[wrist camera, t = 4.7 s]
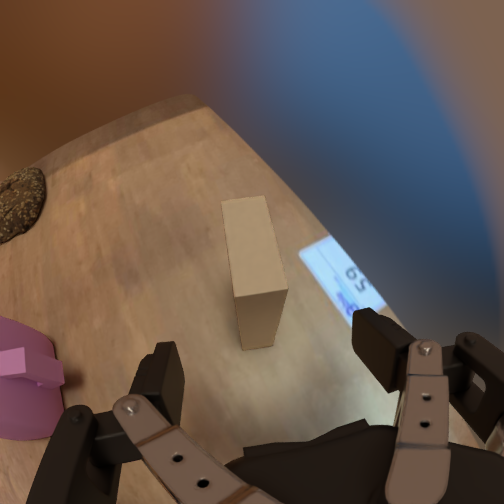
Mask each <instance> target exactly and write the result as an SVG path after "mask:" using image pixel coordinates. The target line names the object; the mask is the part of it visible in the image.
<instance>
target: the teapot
mask: <svg viewBox="0 0 504 504" xmlns="http://www.w3.org/2000/svg"><path fill="white" fill-rule="evenodd" d="M63 384H65V381H64V374H63V366H62V361H59V360H56V359H55V354H54V348H53V344H52V343H51V342H50V340H49V339H48V338H47V337H46V336H45V335H44V334H42V333H41V332H39V331H37V330H35V329H33V328H31V327H29V326H27V325H24V324H22V323H19V322H17V321H14V320H11V319H8V318H5V317H2V316H0V438H4V439H10V440H34V439H40V438H45V437H49V436H52V434H53V432H54V430H55V427H56V425H57V423H58V421H59V419H60V417H61V415H62V413H63V412H64V408H63V403H62V397H61V391H60V386H61V385H63Z"/></svg>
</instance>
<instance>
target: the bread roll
mask: <svg viewBox="0 0 504 504" xmlns="http://www.w3.org/2000/svg"><path fill="white" fill-rule="evenodd" d="M44 189H45V185H44V179H43V173H42V171H41V170H40V169H38V168H34V167H33V168H32V167H31V168H29V167H28V168H25V169H21V170H19V171H17V172H14V174H12V175H10V176H9V177H8V178H7V179H6V180H5V181H3V183H1V184H0V243H1V242H5V241H7V240H9V239H11V238H12V237H14V236H15V235H16V234H18V233H24V232H25V231H26V230H27V229H28V228H29V227H30V226H31V225H32V224H33V223H34V222H35V220H36V218H37V216H38V214H39V210H40V207H41V204H42V201H43V199H44Z"/></svg>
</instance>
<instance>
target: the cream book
mask: <svg viewBox="0 0 504 504" xmlns="http://www.w3.org/2000/svg"><path fill="white" fill-rule="evenodd" d="M221 207H222V215H223V223H224V230H225V238H226V245H227V252H228V259H229V266H230V273H231V280H232V287H233V294H234V300H235V307H236V313H237V319H238V326H239V332H240V338H241V344H242V350H243V351H244V350H251V349H257V348H263V347H269V346H272V345H273V342H274V339H275V335H276V332H277V328H278V325H279V321H280V318H281V314H282V311H283V307H284V304H285V300H286V296H287V293H288V289H289V288H288V284H287V280H286V276H285V272H284V268H283V264H282V260H281V256H280V252H279V248H278V244H277V240H276V236H275V232H274V229H273V225H272V221H271V217H270V214H269V210H268V206H267V202H266V199H265V196H256V197H248V198H240V199H233V200H225V201H221Z"/></svg>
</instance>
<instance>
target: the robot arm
mask: <svg viewBox="0 0 504 504" xmlns="http://www.w3.org/2000/svg"><path fill="white" fill-rule="evenodd" d="M352 346H353V349H354V352H355V353H356V354H357V356H358V357H359V358H360V359H361V360H362V362H363V363H364V364H365V365H366V367H367V368H368V369H369V370H370V372H371V373H372V374H373V375H374V376H375V378H376V379H377V380H378V381H379V383H380V384H381V385H382V386H383V388H384V389H385V390H386V391H387V393H388V394H389V393H391V392H394V391H396V390H399V391H400V394H399V398H398V403H397V408H396V413H395V418H394V423H393V426H390V425H371V426H369V424H368V423H367V421H366V420H365V418H364V419H361V420H359V421H356V422H353V423H349V424H346V425H343V426H340V427H337V428H335V429H333V430H331V431H329V432H327V433H325V434H323V435H321V436H319V437H317V438H315V439H313V440H311V441H307V442H275V443H269V444H263V445H257V446H251V447H244V448H243V451H244V456H243V457H240V458H237V459H235V460H233V461H231V462H229V463H227V464H225V465H224V466H223V465H222V464H221V463H220V462H219V461H217V460H216V459H215V458H214V457H213V456H211V455H210V454H209V453H208V452H207V451H206V450H204V449H203V448H202V447H201V446H200V445H199V444H198V443H197V442H196V441H194V440H193V439H192V438H191V437H190V436H189V435H188V434H187V433H186V432H185V431H184V430H183V429H182V428H181V427H180V420H181V410H182V402H183V393H184V385H185V377H184V371H183V368H182V364H181V361H180V357H179V354H178V350H177V347H176V344H175V342H174V341H170V342H159V343H157V344H156V347H155V350H154V353H153V354H147V355H146V356H145V357H144V358H143V359H142V360H141V362H140V364H139V367H138V370H137V372H136V376H135V377H134V380H133V383H132V386H131V388H130V391H129V394H128V395H126V396H123V397H121V398H120V399H118V400H117V401H116V402H115V403H114V405H113V408H112V411H108V412H103V413H98V414H93V412H92V410H91V409H90V408H89V407H88V406H85V405H75V406H72V407H69V408H68V409H66V410H65V411H64V412H63V413H62V415H61V417H60V419H59V421H58V423H57V425H56V427H55V430H54V432H53V434H52V436H51V439H50V441H49V443H48V446H47V448H46V450H45V453H44V455H43V458H42V460H41V463H40V465H39V468H38V470H37V473H36V476H35V478H34V481H33V484H32V487H31V489H30V492H29V495H28V498H27V501H26V504H116V500H117V493H118V486H119V479H120V473H121V467H122V463H127V462H132V461H136V460H142V461H143V462H144V464H145V465H146V466H147V468H148V469H149V470H150V472H151V473H152V474H153V475H154V477H155V478H156V479H157V480H158V481H159V483H160V484H161V485H162V486H163V487H164V489H165V490H166V491H167V492H168V493H169V495H170V496H171V497H172V498H173V499H174V500H175V502H176V503H177V504H504V353H503V352H502V351H501V350H499V349H498V348H497V347H495V346H494V345H493V344H491V343H490V342H489V341H487V340H486V339H484V338H483V337H482V336H480V335H479V334H476V333H473V332H463V333H460V334H459V335H458V336H457V337H456V341H455V345H452V346H446V347H441V346H440V345H439V344H438V343H437V342H435V341H433V340H430V339H419V340H417V339H416V338H414V337H413V336H412V335H411V334H409V333H408V332H407V331H406V330H404V329H403V328H402V327H401V326H400V325H398V324H397V323H396V322H395V321H393V320H392V319H391V318H389V317H386V316H383V315H379V314H377V313H376V312H375V311H374V310H373V309H371V308H370V307H368V308H364V309H360V310H356V311H354V312H353V320H352ZM475 373H476V374H478V375H479V376H480V377H481V378H482V379H483V380H484V382H485V385H486V390H485V393H484V392H483V391H482V390H481V389H480V388H479V387H478V386H477V385H476V384H474V383H473V382H472V380H473V378H474V375H475ZM449 402H450V404H451V405H452V406H453V407H454V408H455V409H456V410H457V412H458V413H459V414H460V415H461V416H462V417H463V419H464V420H465V421H466V422H467V423H468V424H469V426H470V427H471V428H472V429H473V430H474V432H475V433H476V434H477V435H478V436H479V438H480V439H481V440H482V441H483V442H484V443H485V449H486V450H483V449H478V448H473V447H469V446H464V445H460V444H456V443H452V442H448V434H449Z"/></svg>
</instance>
